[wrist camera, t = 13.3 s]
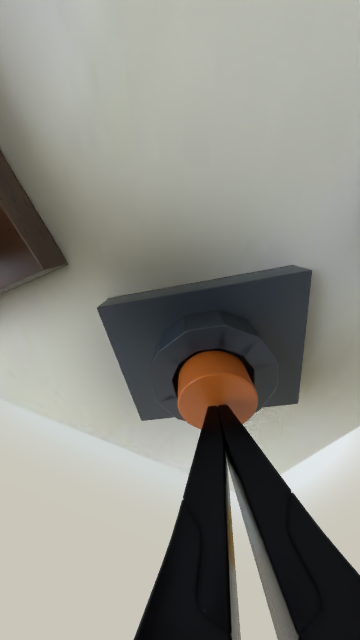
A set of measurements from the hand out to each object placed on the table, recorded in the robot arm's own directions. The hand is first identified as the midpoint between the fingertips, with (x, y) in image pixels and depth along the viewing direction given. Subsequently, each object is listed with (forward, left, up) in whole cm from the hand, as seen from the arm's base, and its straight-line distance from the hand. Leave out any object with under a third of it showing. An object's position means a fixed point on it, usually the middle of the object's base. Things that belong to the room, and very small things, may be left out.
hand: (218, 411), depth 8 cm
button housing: (0, 0, -5) cm, 5 cm away
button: (0, 0, -2) cm, 2 cm away
